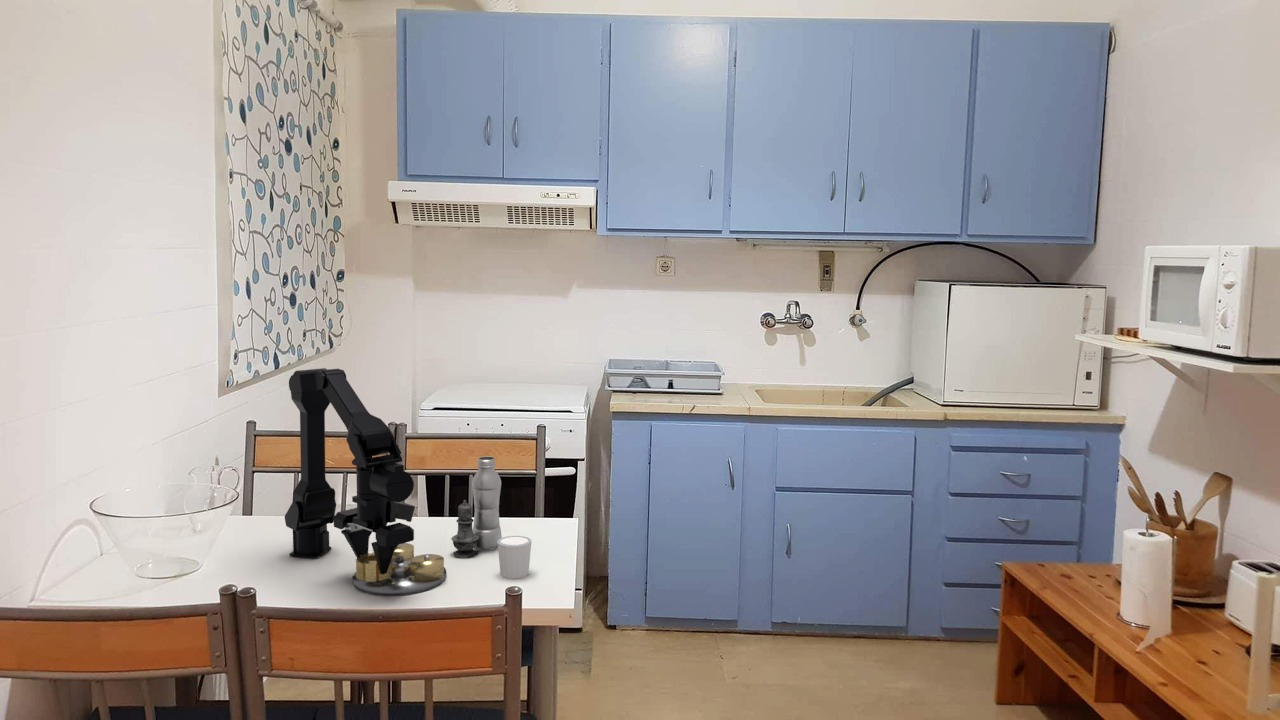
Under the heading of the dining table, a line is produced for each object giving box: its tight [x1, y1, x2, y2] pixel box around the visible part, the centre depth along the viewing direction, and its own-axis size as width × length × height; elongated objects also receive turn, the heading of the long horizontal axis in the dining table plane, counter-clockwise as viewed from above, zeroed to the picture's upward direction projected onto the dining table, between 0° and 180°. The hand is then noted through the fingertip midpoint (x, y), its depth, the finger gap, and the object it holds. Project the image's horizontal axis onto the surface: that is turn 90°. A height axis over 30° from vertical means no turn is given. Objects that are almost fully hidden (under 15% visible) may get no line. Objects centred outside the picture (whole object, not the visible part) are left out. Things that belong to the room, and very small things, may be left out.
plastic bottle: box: [471, 455, 503, 550], centre depth 206 cm, size 6×7×20 cm
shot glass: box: [497, 535, 532, 580], centre depth 191 cm, size 7×7×7 cm
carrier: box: [352, 542, 447, 597], centre depth 187 cm, size 18×18×5 cm
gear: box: [355, 552, 392, 582], centre depth 183 cm, size 6×6×4 cm
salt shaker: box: [450, 499, 479, 559], centre depth 202 cm, size 6×6×12 cm
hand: (373, 569), depth 183 cm, fingers closed on gear, 6 cm apart
